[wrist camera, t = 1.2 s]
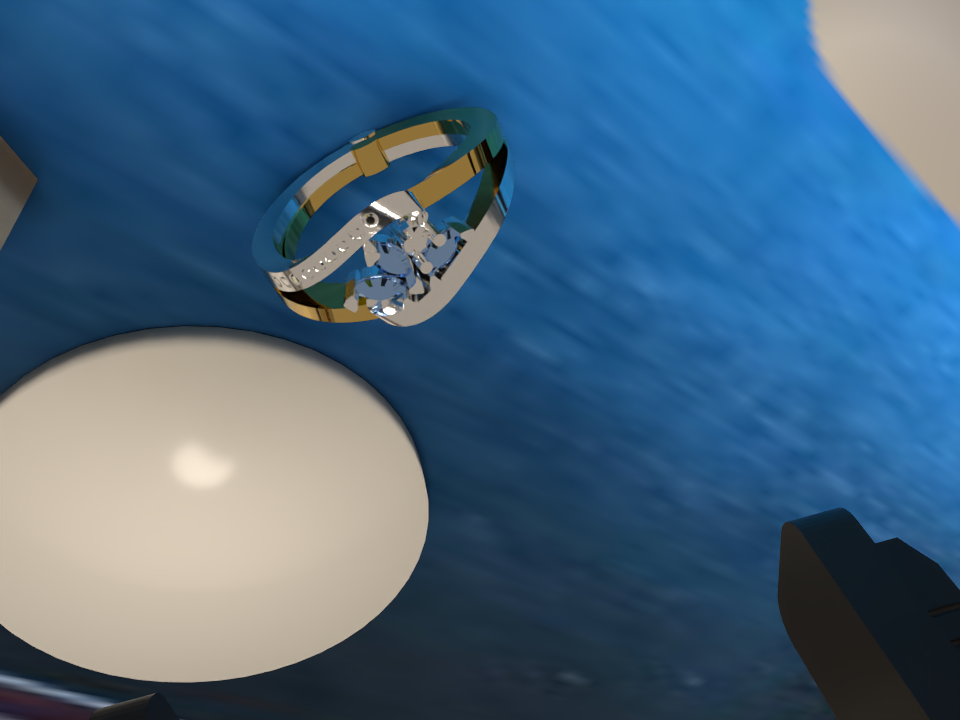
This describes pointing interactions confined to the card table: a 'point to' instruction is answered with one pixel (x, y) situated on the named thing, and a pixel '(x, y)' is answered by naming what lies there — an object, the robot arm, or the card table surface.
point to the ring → (414, 240)
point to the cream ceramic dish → (201, 504)
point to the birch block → (12, 188)
